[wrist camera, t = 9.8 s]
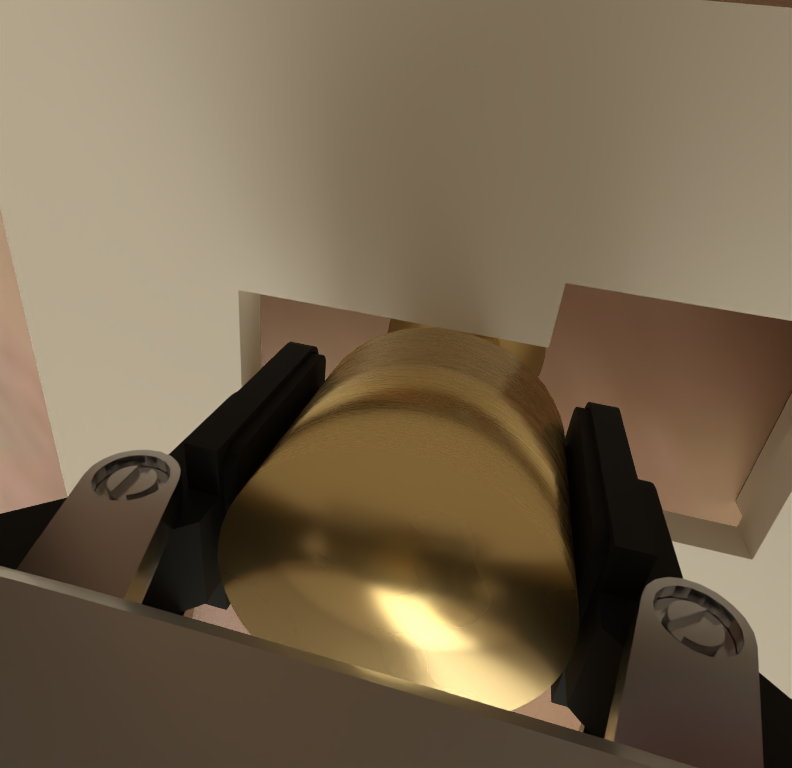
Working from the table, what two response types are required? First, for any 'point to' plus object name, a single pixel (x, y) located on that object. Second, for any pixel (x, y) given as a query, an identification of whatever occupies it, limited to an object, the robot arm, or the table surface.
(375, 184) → the keyhole shelf
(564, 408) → the table surface
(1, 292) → the table surface
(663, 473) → the table surface
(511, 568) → the brass capped stopper
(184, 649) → the robot arm
